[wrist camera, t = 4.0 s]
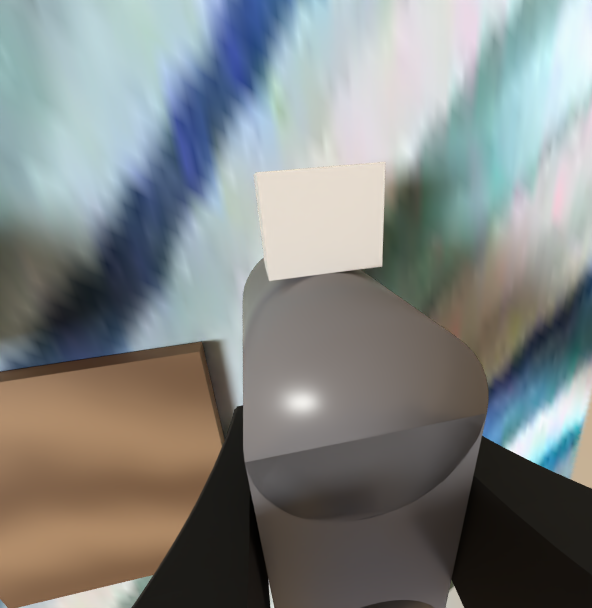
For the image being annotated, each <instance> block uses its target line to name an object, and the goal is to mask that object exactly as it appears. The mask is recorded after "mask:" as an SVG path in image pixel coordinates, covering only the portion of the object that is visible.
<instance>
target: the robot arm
mask: <svg viewBox="0 0 592 608" xmlns="http://www.w3.org/2000/svg"><path fill="white" fill-rule="evenodd" d="M452 582H453V584H454V586H455V588H456V590H457V593H458V595H459V597H460V599H461V601H462V604H463V606H464V608H592V489H591V488H589V487H586V486H584V485H582V484H579V483H577V482H575V481H573V480H571V479H568V478H566V477H564V476H561V475H559V474H557V473H555V472H552V471H550V470H548V469H546V468H544V467H542V466H540V465H537V464H535V463H533V462H531V461H529V460H527V459H525V458H523V457H521V456H519V455H517V454H515V453H513V452H511V451H509V450H507V449H505V448H503V447H502V446H500V445H498V444H496V443H494V442H492V441H491V440H489V439H487V438H485V437H484V436H482V438H481V442H480V447H479V452H478V457H477V461H476V466H475V471H474V475H473V480H472V485H471V489H470V494H469V499H468V503H467V508H466V513H465V518H464V522H463V527H462V532H461V536H460V541H459V546H458V550H457V555H456V560H455V565H454V569H453V574H452ZM132 608H270V597H269V581H268V574H267V569H266V564H265V559H264V554H263V549H262V544H261V539H260V535H259V530H258V525H257V520H256V515H255V510H254V505H253V500H252V495H251V491H250V486H249V481H248V476H247V471H246V466H245V460H244V451H243V406H237V408H236V409H235V410H234V414H233V417H232V421H231V424H230V427H229V430H228V432H227V435H226V438H225V441H224V443H223V446H222V448H221V450H220V453H219V455H218V457H217V460H216V462H215V465H214V467H213V469H212V471H211V473H210V475H209V477H208V479H207V482H206V484H205V486H204V488H203V490H202V492H201V494H200V496H199V498H198V500H197V502H196V504H195V506H194V507H193V509H192V511H191V513H190V515H189V517H188V519H187V520H186V522H185V524H184V526H183V527H182V529H181V531H180V533H179V534H178V536H177V538H176V539H175V541H174V543H173V544H172V546H171V548H170V549H169V551H168V553H167V554H166V556H165V557H164V559H163V561H162V562H161V564H160V565H159V567H158V569H157V570H156V572H155V573H154V575H153V577H152V578H151V580H150V581H149V583H148V584H147V586H146V587H145V589H144V590H143V592H142V593H141V595H140V596H139V598H138V599H137V601H136V602H135V604H134V605H133V606H132ZM445 608H446V607H445Z"/></svg>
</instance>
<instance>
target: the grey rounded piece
mask: <svg viewBox="0 0 592 608" xmlns="http://www.w3.org/2000/svg"><path fill="white" fill-rule="evenodd" d="M254 182H255V190H256V198H257V206H258V214H259V222H260V230H261V238H262V246H263V255H264V258H263V259H261V260H260V261H259V262H258V264H257V265H256V266H255V267H254V269H253V270H252V271H251V273H250V275H249V277H248V279H247V281H246V284H245V287H244V292H243V451H244V460H245V466H246V471H247V476H248V481H249V486H250V491H251V495H252V500H253V505H254V510H255V515H256V520H257V525H258V530H259V535H260V539H261V544H262V549H263V554H264V559H265V564H266V569H267V574H268V579H269V583H270V588H271V593H272V598H273V603H274V608H445V607H446V602H447V597H448V593H449V588H450V583H451V579H452V574H453V569H454V565H455V560H456V555H457V550H458V546H459V541H460V536H461V532H462V527H463V522H464V518H465V513H466V508H467V503H468V499H469V494H470V489H471V485H472V480H473V475H474V471H475V466H476V461H477V457H478V452H479V447H480V442H481V438H482V433H483V428H484V424H485V419H486V414H487V408H488V385H487V379H486V375H485V373H484V370H483V367H482V365H481V363H480V362H479V360H478V358H477V357H476V355H475V354H474V353H473V352H472V350H471V349H470V348H469V347H468V346H467V345H466V344H465V343H463V342H462V341H461V340H460V339H458V338H457V337H456V336H454V335H453V334H451V333H450V332H449V331H447V330H446V329H444V328H443V327H441V326H440V325H439V324H437V323H436V322H434V321H433V320H431V319H430V318H429V317H427V316H426V315H424V314H423V313H422V312H420V311H419V310H417V309H416V308H414V307H413V306H412V305H410V304H409V303H407V302H406V301H404V300H403V299H402V298H400V297H399V296H397V295H396V294H395V293H393V292H392V291H390V290H389V289H387V288H386V287H385V286H383V285H382V284H380V283H379V282H377V281H376V280H375V279H373V278H372V277H370V276H369V275H368V274H366V273H365V272H363V271H362V270H360V269H366V268H374V267H382V254H383V223H384V191H385V162H378V163H366V164H354V165H342V166H329V167H317V168H305V169H293V170H281V171H268V172H256V173H255V174H254Z"/></svg>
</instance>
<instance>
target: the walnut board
mask: <svg viewBox="0 0 592 608" xmlns="http://www.w3.org/2000/svg"><path fill="white" fill-rule="evenodd" d="M224 441H225V440H224V435H223V431H222V427H221V422H220V418H219V414H218V409H217V405H216V401H215V396H214V392H213V388H212V384H211V379H210V375H209V371H208V366H207V362H206V358H205V353H204V349H203V345H202V342H197V343H190V344H184V345H177V346H170V347H164V348H157V349H150V350H144V351H137V352H130V353H124V354H117V355H110V356H104V357H97V358H90V359H83V360H77V361H70V362H63V363H57V364H50V365H43V366H37V367H30V368H23V369H17V370H10V371H3V372H0V599H1V600H2V601H3V603H4V604H5V605H6V606H7V607H8V608H18V607H22V606H26V605H30V604H34V603H38V602H43V601H47V600H51V599H55V598H59V597H63V596H67V595H72V594H76V593H80V592H84V591H88V590H92V589H96V588H101V587H105V586H109V585H113V584H117V583H121V582H125V581H130V580H134V579H138V578H142V577H146V576H150V575H154V573H155V572H156V570H157V569H158V567H159V565H160V564H161V562H162V561H163V559H164V557H165V556H166V554H167V553H168V551H169V549H170V548H171V546H172V544H173V543H174V541H175V539H176V538H177V536H178V534H179V533H180V531H181V529H182V527H183V526H184V524H185V522H186V520H187V519H188V517H189V515H190V513H191V511H192V509H193V507H194V506H195V504H196V502H197V500H198V498H199V496H200V494H201V492H202V490H203V488H204V486H205V484H206V482H207V479H208V477H209V475H210V473H211V471H212V469H213V467H214V465H215V462H216V460H217V457H218V455H219V453H220V450H221V448H222V446H223V443H224Z"/></svg>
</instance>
